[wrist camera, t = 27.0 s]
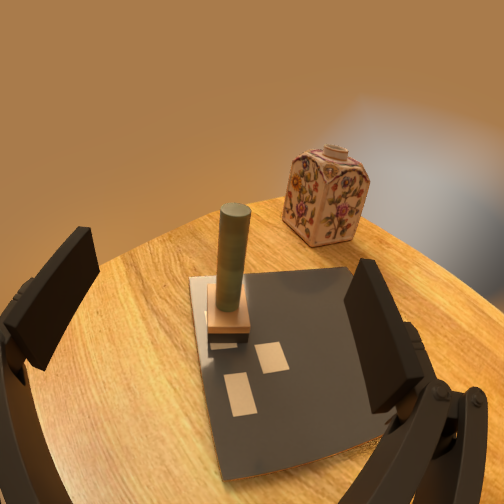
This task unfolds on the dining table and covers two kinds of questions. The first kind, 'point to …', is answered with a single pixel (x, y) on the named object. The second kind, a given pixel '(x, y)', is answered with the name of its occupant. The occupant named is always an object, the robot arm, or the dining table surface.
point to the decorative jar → (325, 195)
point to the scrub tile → (285, 375)
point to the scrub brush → (230, 279)
